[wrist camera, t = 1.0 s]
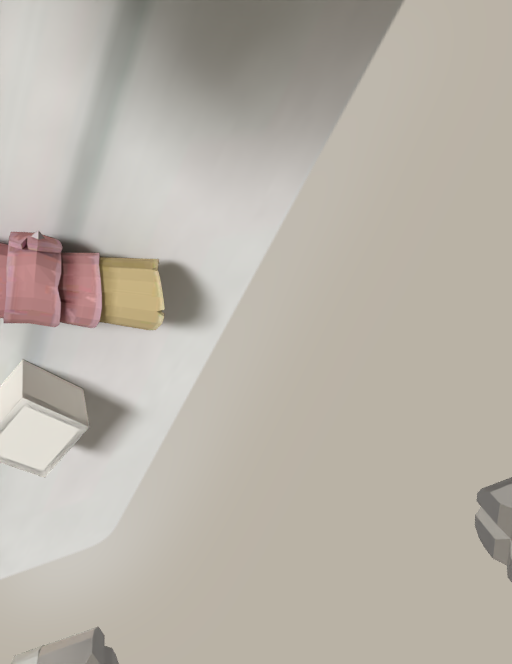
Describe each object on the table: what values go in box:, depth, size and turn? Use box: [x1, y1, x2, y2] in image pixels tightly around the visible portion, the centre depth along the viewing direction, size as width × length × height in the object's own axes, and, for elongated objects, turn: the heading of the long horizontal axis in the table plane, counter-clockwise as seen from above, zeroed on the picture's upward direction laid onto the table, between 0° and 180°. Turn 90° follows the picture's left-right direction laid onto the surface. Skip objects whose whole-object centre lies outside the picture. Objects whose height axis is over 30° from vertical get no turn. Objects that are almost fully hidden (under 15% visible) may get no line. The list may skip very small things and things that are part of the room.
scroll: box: [0, 230, 165, 330], centre depth 38 cm, size 8×8×20 cm
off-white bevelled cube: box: [0, 360, 89, 478], centre depth 44 cm, size 6×6×6 cm
